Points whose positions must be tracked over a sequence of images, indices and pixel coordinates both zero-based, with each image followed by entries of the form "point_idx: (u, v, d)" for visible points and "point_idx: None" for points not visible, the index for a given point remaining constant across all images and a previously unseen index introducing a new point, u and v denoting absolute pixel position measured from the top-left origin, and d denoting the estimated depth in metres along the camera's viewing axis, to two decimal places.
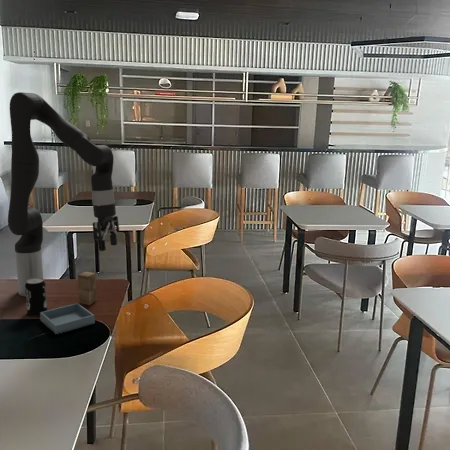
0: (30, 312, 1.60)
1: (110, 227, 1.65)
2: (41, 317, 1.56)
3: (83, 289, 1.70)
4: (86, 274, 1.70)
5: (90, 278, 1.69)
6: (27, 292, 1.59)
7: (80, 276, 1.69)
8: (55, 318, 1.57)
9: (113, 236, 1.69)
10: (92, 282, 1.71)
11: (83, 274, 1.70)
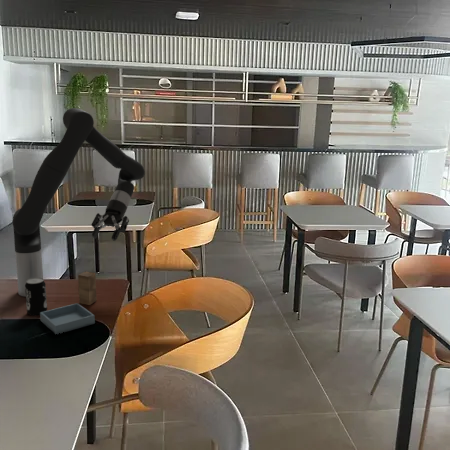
0: (30, 312, 1.60)
1: None
2: (41, 317, 1.56)
3: (83, 289, 1.70)
4: (86, 274, 1.70)
5: (90, 278, 1.69)
6: (27, 292, 1.59)
7: (80, 276, 1.69)
8: (55, 318, 1.57)
9: (98, 230, 1.82)
10: (92, 282, 1.71)
11: (83, 274, 1.70)
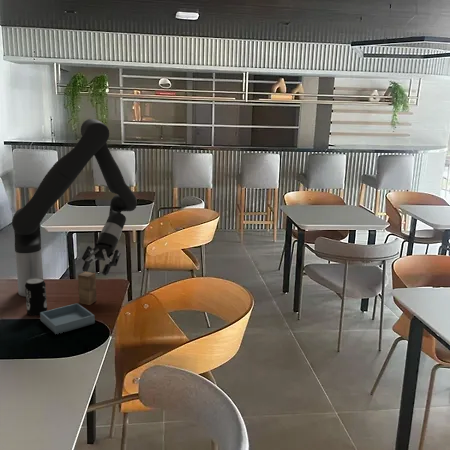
0: (30, 312, 1.60)
1: None
2: (41, 317, 1.56)
3: (83, 289, 1.70)
4: (86, 274, 1.70)
5: (90, 278, 1.69)
6: (27, 292, 1.59)
7: (80, 276, 1.69)
8: (55, 318, 1.57)
9: (88, 264, 1.78)
10: (92, 282, 1.71)
11: (83, 274, 1.70)
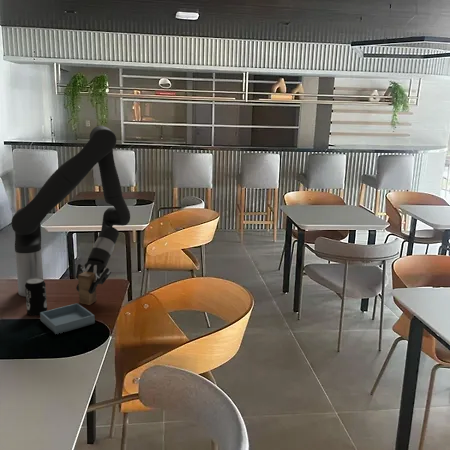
0: (30, 312, 1.60)
1: None
2: (41, 317, 1.56)
3: (83, 289, 1.70)
4: (86, 274, 1.70)
5: (90, 278, 1.69)
6: (27, 292, 1.59)
7: (80, 276, 1.69)
8: (55, 318, 1.57)
9: None
10: (92, 282, 1.71)
11: (83, 274, 1.70)
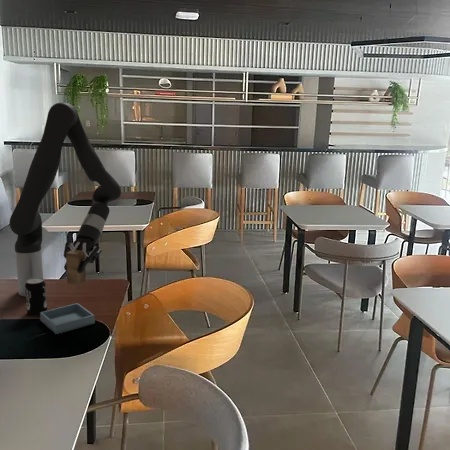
0: (30, 312, 1.60)
1: None
2: (41, 317, 1.56)
3: (71, 268, 1.58)
4: (74, 252, 1.59)
5: (79, 256, 1.58)
6: (27, 292, 1.59)
7: (68, 254, 1.58)
8: (55, 318, 1.57)
9: None
10: None
11: (71, 252, 1.59)
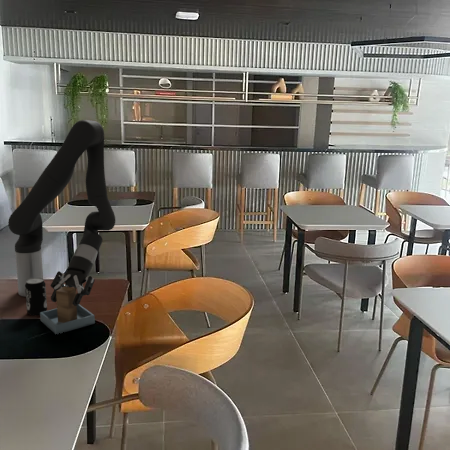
0: (30, 312, 1.60)
1: None
2: (41, 317, 1.56)
3: (62, 307, 1.53)
4: (65, 290, 1.53)
5: (69, 294, 1.52)
6: (27, 292, 1.59)
7: (58, 292, 1.52)
8: (55, 318, 1.57)
9: None
10: (72, 298, 1.54)
11: (62, 290, 1.53)
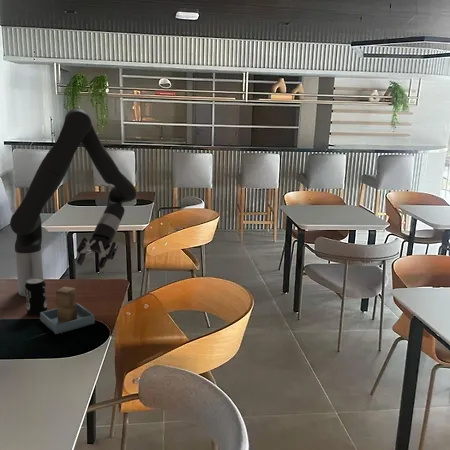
0: (30, 312, 1.60)
1: None
2: (41, 317, 1.56)
3: (62, 307, 1.53)
4: (65, 290, 1.53)
5: (69, 294, 1.52)
6: (27, 292, 1.59)
7: (58, 292, 1.52)
8: (55, 318, 1.57)
9: (84, 256, 1.69)
10: (72, 298, 1.54)
11: (62, 290, 1.53)
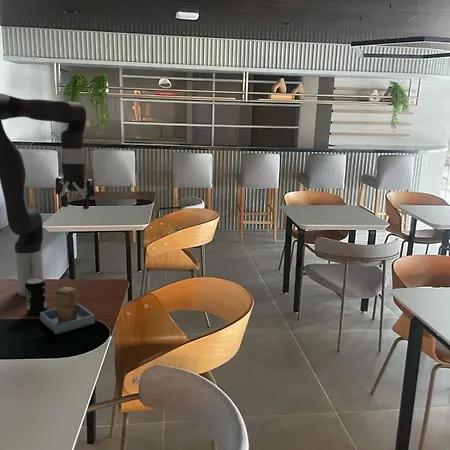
0: (30, 312, 1.60)
1: None
2: (41, 317, 1.56)
3: (62, 307, 1.53)
4: (65, 290, 1.53)
5: (69, 294, 1.52)
6: (27, 292, 1.59)
7: (58, 292, 1.52)
8: (55, 318, 1.57)
9: (66, 197, 1.64)
10: (72, 298, 1.54)
11: (62, 290, 1.53)
